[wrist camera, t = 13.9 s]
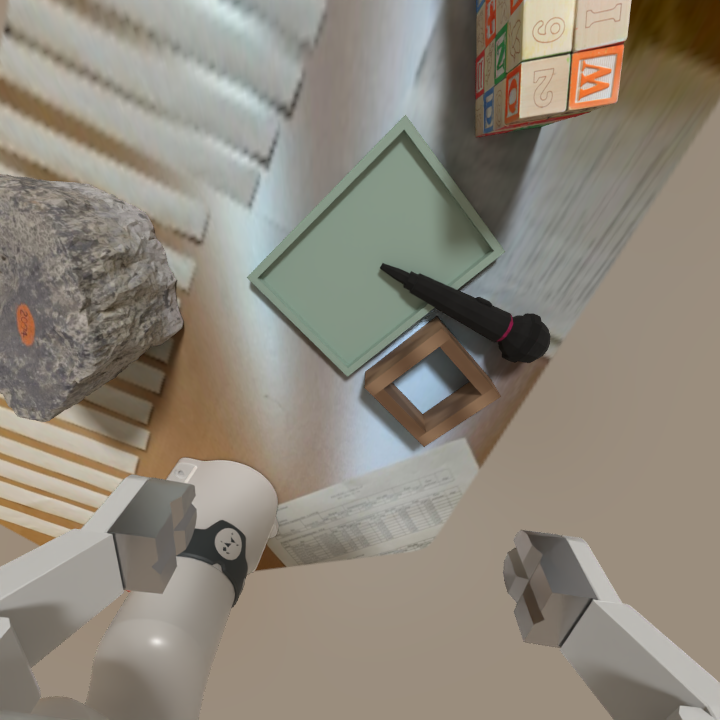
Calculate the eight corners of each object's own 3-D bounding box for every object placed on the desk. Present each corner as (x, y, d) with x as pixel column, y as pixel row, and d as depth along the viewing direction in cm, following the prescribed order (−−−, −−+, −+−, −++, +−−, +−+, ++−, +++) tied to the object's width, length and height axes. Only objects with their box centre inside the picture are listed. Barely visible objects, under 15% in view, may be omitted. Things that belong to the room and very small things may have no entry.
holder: (420, 427, 50) (424, 446, 46) (365, 371, 47) (364, 387, 43) (491, 379, 46) (500, 396, 43) (436, 315, 43) (442, 328, 39)
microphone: (394, 237, 41) (551, 319, 42) (371, 284, 43) (520, 360, 45) (393, 243, 36) (570, 335, 37) (366, 295, 38) (535, 381, 40)
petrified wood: (60, 153, 38) (-119, 136, 24) (218, 248, 41) (140, 280, 27) (25, 305, 45) (-128, 358, 31) (162, 376, 48) (78, 451, 35)
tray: (348, 370, 47) (347, 376, 45) (251, 274, 42) (246, 277, 40) (500, 249, 40) (505, 251, 38) (404, 117, 35) (405, 114, 34)
